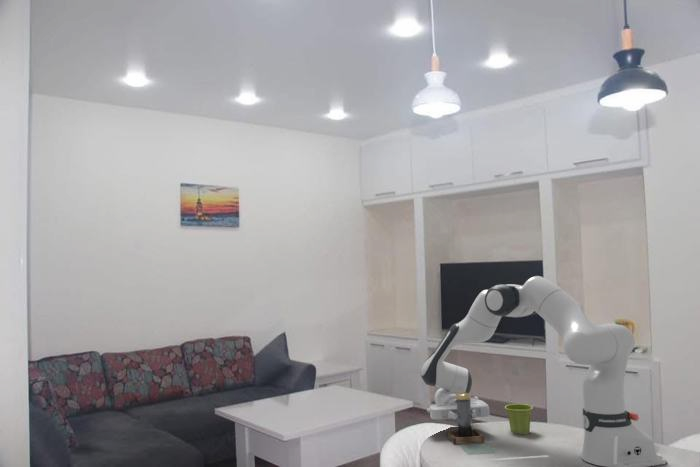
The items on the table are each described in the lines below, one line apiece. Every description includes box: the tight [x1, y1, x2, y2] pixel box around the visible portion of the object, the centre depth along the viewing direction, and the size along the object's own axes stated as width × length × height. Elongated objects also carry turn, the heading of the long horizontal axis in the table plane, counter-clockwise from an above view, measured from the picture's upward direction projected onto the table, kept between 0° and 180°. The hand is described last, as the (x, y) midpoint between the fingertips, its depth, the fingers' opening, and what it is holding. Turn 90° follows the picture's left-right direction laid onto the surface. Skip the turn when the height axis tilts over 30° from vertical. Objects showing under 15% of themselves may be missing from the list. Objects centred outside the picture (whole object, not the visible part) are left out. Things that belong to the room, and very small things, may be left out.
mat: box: [460, 443, 497, 456], centre depth 180 cm, size 9×9×1 cm
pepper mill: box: [456, 392, 473, 437], centre depth 192 cm, size 5×5×14 cm
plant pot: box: [504, 403, 534, 435], centre depth 199 cm, size 9×9×9 cm
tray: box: [446, 428, 485, 445], centre depth 191 cm, size 10×9×2 cm
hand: (465, 416), depth 191 cm, fingers closed on pepper mill, 4 cm apart
